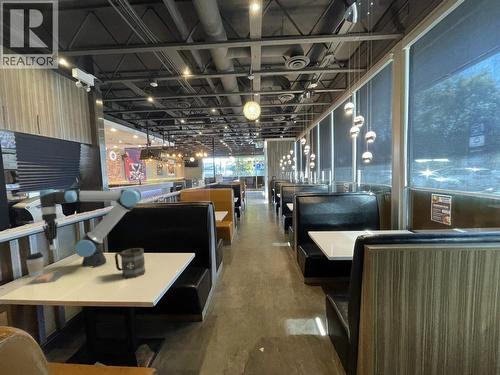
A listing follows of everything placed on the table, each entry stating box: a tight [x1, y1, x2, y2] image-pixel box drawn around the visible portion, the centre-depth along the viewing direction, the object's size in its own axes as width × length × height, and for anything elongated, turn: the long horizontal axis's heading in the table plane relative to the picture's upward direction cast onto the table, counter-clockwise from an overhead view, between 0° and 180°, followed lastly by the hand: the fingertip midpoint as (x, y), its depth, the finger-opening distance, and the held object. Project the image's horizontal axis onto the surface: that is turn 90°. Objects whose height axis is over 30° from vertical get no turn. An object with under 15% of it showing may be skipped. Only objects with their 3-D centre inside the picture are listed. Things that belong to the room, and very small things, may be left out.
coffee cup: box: [25, 251, 45, 278], centre depth 170 cm, size 9×9×15 cm
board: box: [24, 272, 69, 286], centre depth 162 cm, size 16×16×1 cm
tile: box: [34, 273, 55, 283], centre depth 160 cm, size 6×2×8 cm
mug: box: [114, 247, 146, 279], centre depth 165 cm, size 20×14×15 cm
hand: (53, 249), depth 169 cm, fingers closed
